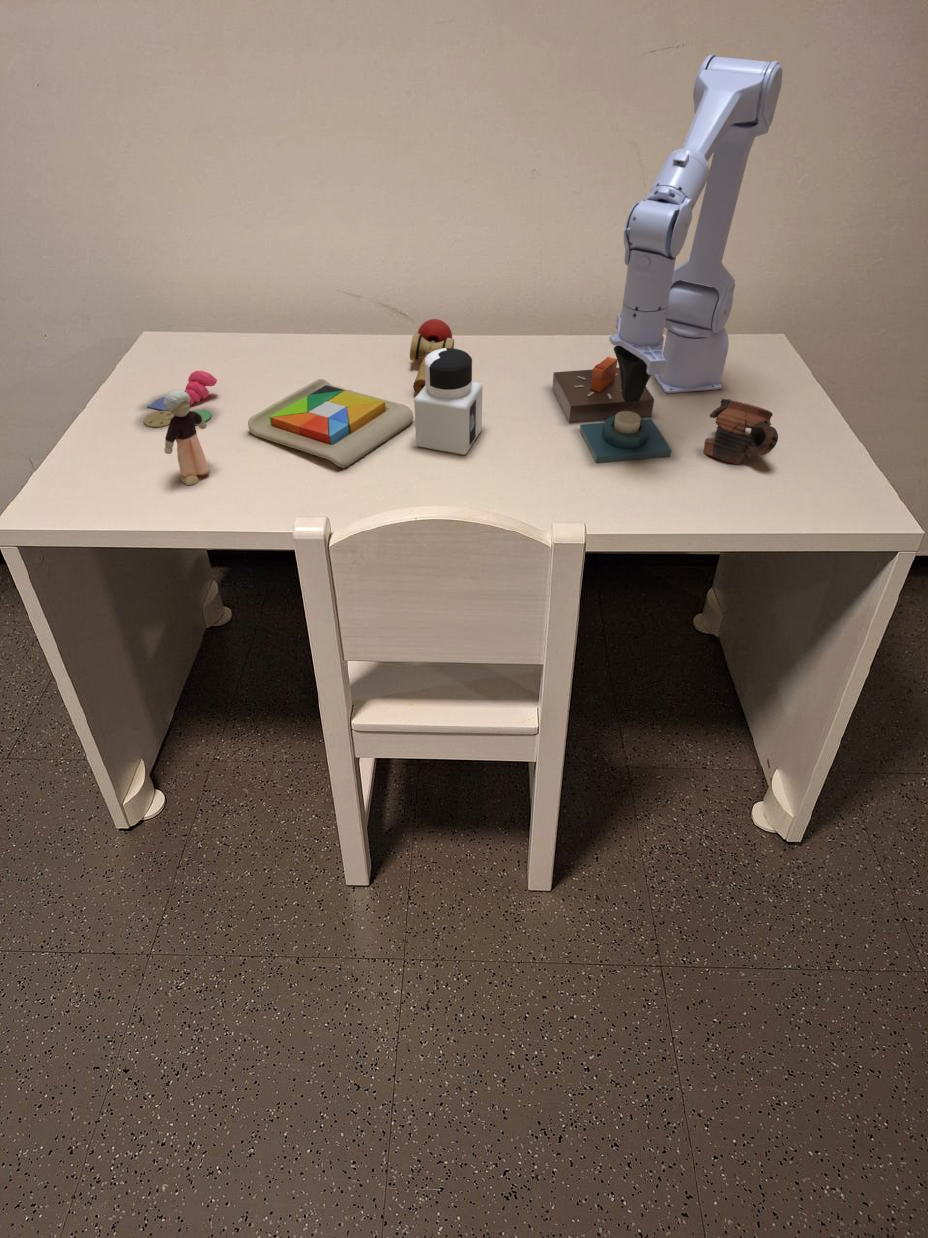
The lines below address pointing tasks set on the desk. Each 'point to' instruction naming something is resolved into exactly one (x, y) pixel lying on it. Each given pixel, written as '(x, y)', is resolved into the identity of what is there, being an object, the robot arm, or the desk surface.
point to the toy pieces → (195, 392)
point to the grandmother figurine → (185, 437)
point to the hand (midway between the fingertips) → (630, 399)
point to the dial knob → (603, 374)
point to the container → (448, 403)
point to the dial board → (595, 397)
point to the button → (627, 422)
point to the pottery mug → (741, 432)
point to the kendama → (429, 345)
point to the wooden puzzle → (331, 422)
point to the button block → (624, 442)
